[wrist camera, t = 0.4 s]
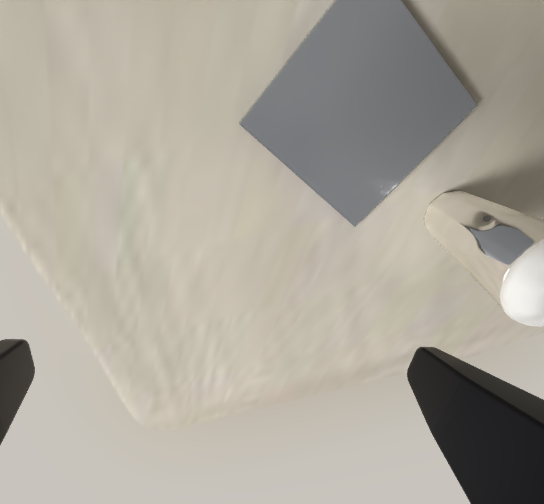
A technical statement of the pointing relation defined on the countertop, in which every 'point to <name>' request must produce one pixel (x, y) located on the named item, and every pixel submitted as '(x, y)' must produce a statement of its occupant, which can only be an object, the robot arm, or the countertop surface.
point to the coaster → (359, 104)
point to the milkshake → (494, 250)
